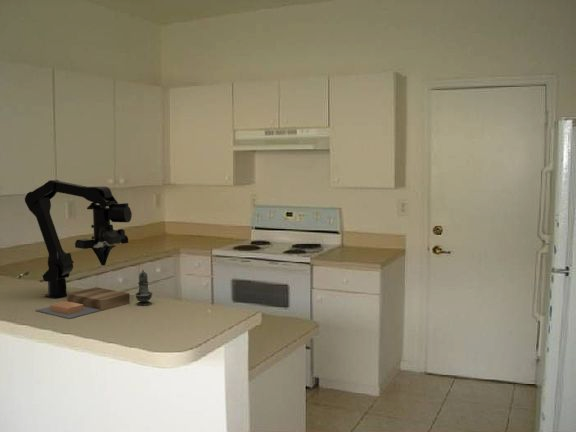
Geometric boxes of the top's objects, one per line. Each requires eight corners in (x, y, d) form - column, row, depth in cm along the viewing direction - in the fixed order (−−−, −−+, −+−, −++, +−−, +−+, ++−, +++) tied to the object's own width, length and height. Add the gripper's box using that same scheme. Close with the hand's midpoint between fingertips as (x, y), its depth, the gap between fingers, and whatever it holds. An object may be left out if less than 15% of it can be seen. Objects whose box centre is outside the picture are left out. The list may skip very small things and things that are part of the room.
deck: (67, 303, 201) (67, 293, 201) (96, 296, 211) (95, 287, 211) (101, 310, 191) (100, 300, 191) (129, 303, 201) (129, 293, 201)
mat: (35, 311, 191) (35, 310, 191) (67, 303, 201) (67, 302, 201) (69, 319, 181) (69, 318, 181) (101, 310, 191) (101, 309, 191)
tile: (66, 301, 195) (66, 306, 195) (50, 304, 190) (50, 310, 190) (83, 304, 190) (83, 310, 190) (67, 308, 185) (67, 314, 185)
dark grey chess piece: (155, 302, 202) (154, 268, 201) (149, 306, 197) (148, 271, 195) (138, 301, 203) (137, 268, 202) (132, 306, 197) (131, 271, 196)
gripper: (92, 225, 194) (94, 271, 195) (137, 221, 209) (138, 263, 210) (73, 223, 200) (75, 268, 202) (118, 219, 215) (119, 260, 217)
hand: (103, 265), depth 208 cm, fingers closed
